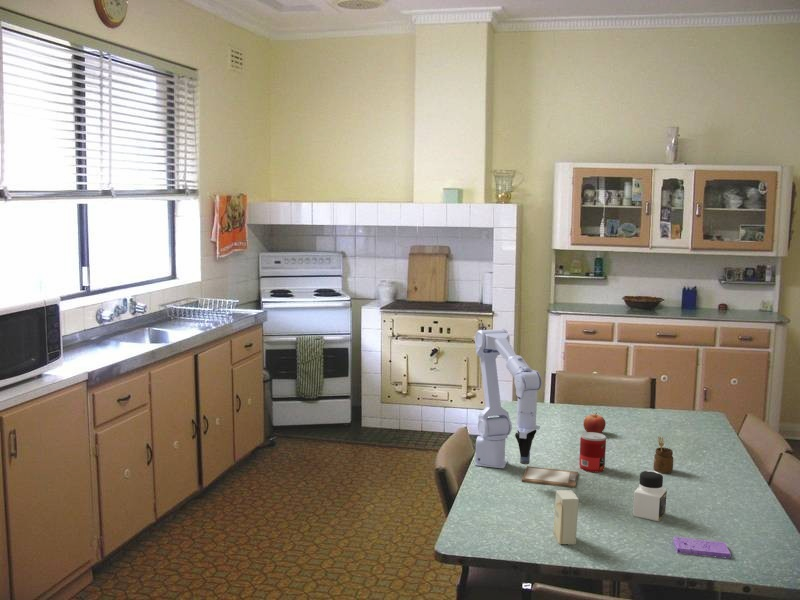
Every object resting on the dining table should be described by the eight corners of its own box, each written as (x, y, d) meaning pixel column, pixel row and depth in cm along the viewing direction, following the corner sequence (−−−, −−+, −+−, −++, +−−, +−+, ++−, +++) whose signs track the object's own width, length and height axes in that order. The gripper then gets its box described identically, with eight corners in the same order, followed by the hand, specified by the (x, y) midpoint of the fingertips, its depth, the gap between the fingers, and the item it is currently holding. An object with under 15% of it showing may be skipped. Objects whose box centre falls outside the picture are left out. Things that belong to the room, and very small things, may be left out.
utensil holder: (675, 470, 254) (678, 434, 252) (667, 475, 249) (669, 438, 248) (658, 466, 258) (660, 430, 256) (649, 471, 253) (651, 434, 252)
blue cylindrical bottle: (519, 463, 237) (520, 437, 236) (520, 460, 240) (521, 434, 239) (529, 464, 237) (530, 438, 236) (530, 461, 239) (531, 435, 238)
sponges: (672, 543, 201) (673, 536, 201) (725, 548, 199) (725, 541, 198) (676, 554, 194) (676, 547, 194) (730, 560, 192) (731, 553, 192)
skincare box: (552, 534, 204) (554, 489, 202) (569, 534, 204) (571, 489, 203) (559, 545, 197) (561, 498, 196) (577, 545, 198) (579, 498, 196)
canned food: (605, 473, 250) (606, 439, 249) (579, 471, 252) (580, 438, 251) (603, 465, 258) (605, 433, 256) (578, 463, 259) (580, 431, 258)
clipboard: (521, 481, 242) (521, 478, 242) (527, 468, 254) (527, 464, 254) (575, 487, 237) (575, 484, 237) (577, 473, 250) (578, 470, 250)
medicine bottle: (659, 522, 213) (661, 479, 211) (632, 516, 217) (634, 474, 215) (665, 513, 219) (668, 471, 217) (639, 507, 223) (642, 466, 221)
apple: (608, 432, 295) (609, 412, 294) (601, 438, 288) (602, 416, 287) (587, 429, 299) (588, 408, 298) (580, 434, 292) (581, 413, 291)
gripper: (537, 418, 228) (535, 464, 230) (542, 406, 242) (541, 449, 244) (513, 416, 230) (511, 461, 232) (519, 404, 244) (518, 446, 246)
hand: (525, 455), depth 238 cm, fingers closed on blue cylindrical bottle, 3 cm apart
